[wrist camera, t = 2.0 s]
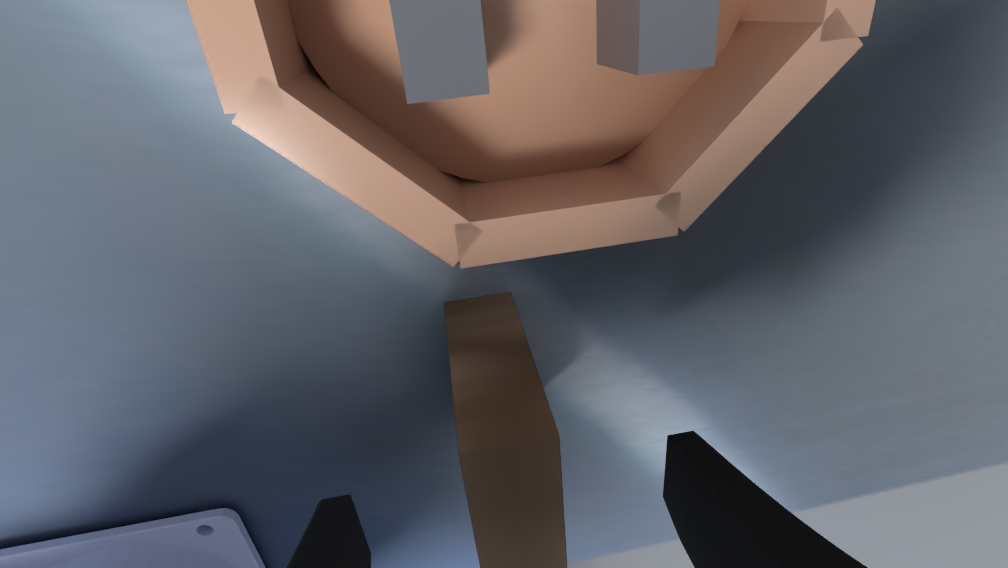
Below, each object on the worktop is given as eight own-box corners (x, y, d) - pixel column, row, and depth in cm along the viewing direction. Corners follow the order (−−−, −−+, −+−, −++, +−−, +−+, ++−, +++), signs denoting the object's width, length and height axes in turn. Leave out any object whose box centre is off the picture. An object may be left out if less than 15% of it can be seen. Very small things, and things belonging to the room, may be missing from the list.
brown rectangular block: (463, 417, 17) (484, 591, 12) (444, 302, 15) (458, 453, 10) (521, 407, 18) (567, 574, 12) (510, 292, 15) (559, 435, 10)
